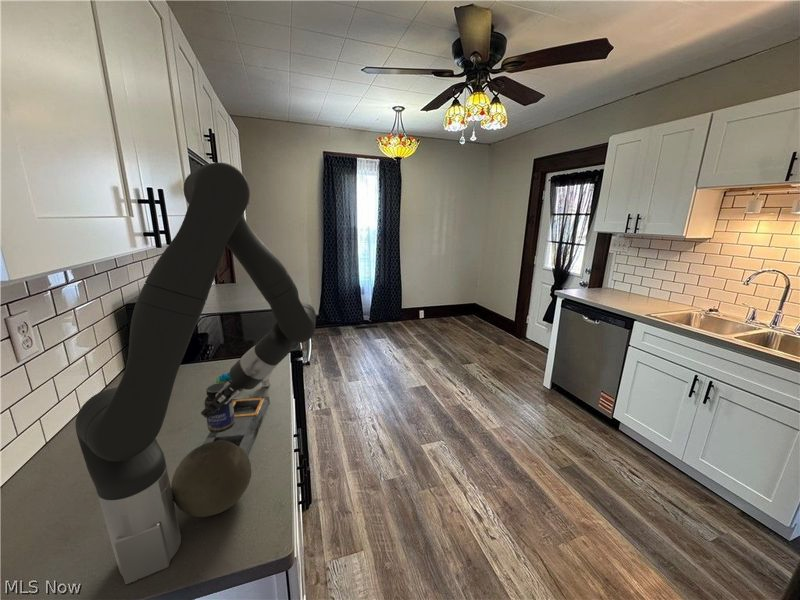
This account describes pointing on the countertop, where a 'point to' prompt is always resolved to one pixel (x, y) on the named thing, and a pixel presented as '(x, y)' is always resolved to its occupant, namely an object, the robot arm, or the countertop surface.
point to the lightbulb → (266, 381)
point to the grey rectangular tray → (243, 424)
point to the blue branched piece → (223, 378)
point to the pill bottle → (219, 411)
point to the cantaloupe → (211, 478)
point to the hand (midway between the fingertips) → (212, 407)
